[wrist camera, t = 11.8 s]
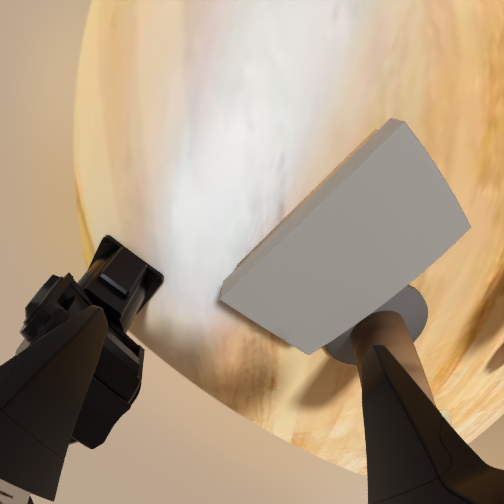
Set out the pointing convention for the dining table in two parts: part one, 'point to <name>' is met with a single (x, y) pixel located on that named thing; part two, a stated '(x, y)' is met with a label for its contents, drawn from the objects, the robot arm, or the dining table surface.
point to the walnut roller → (389, 344)
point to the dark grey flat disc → (403, 303)
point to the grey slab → (350, 242)
